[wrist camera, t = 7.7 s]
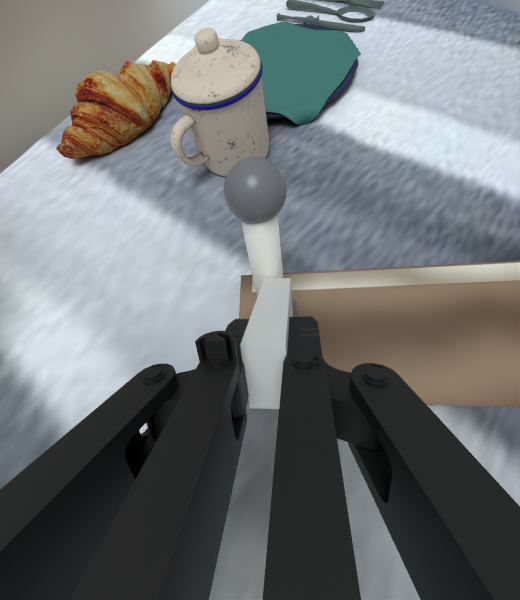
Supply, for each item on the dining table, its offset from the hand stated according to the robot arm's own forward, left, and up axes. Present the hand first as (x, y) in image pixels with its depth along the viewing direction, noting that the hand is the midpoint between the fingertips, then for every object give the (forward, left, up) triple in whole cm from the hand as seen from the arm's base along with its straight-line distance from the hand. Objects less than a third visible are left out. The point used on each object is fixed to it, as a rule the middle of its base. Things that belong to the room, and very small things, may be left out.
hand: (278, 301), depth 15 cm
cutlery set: (-27, +31, -10) cm, 43 cm away
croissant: (-39, +7, -10) cm, 41 cm away
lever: (0, -1, -6) cm, 6 cm away
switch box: (+7, +6, -10) cm, 14 cm away
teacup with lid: (-21, +11, -10) cm, 26 cm away
